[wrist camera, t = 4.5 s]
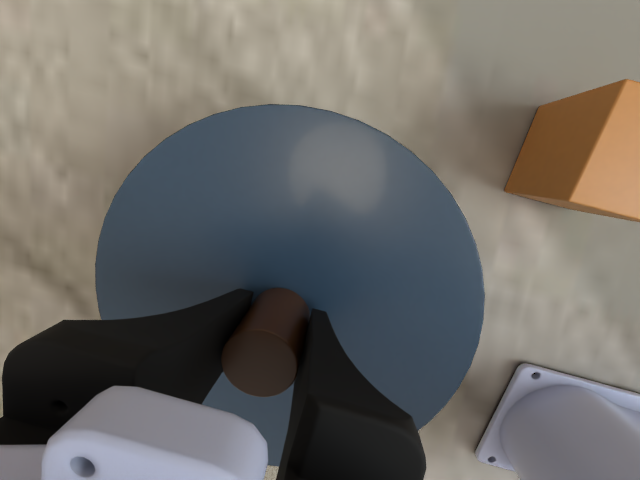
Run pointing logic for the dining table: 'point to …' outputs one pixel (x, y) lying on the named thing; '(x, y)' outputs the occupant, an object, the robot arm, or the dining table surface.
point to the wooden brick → (585, 153)
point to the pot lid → (299, 256)
